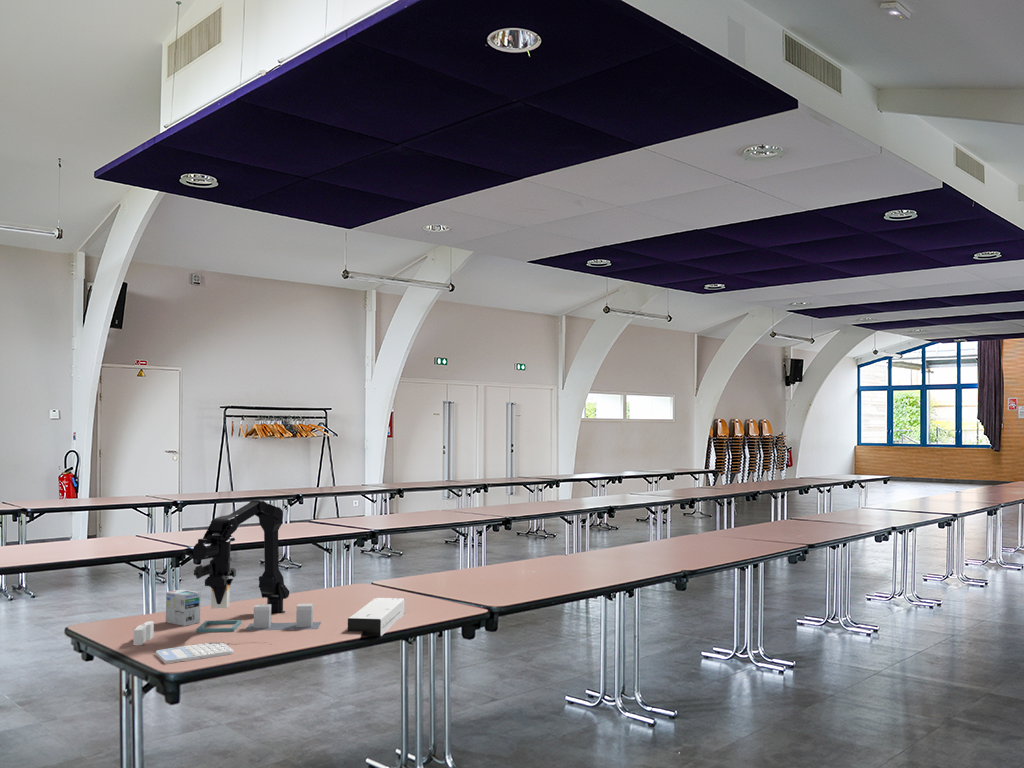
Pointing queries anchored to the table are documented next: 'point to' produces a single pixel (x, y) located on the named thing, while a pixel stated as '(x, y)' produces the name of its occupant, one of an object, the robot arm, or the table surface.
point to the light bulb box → (183, 607)
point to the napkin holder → (143, 633)
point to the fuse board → (282, 626)
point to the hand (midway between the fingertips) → (220, 602)
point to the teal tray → (203, 629)
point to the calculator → (194, 652)
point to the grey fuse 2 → (304, 615)
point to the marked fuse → (224, 601)
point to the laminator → (377, 616)
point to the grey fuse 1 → (262, 616)
